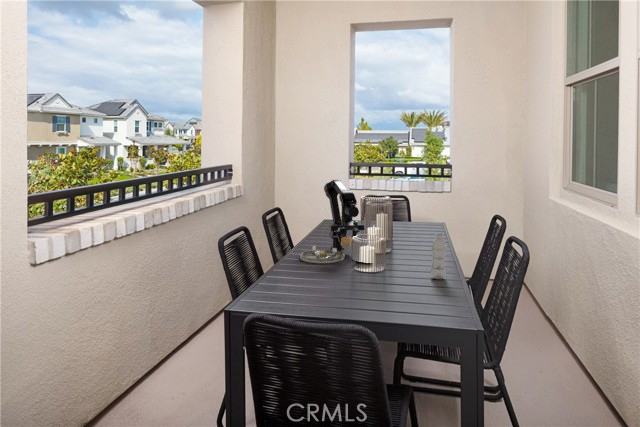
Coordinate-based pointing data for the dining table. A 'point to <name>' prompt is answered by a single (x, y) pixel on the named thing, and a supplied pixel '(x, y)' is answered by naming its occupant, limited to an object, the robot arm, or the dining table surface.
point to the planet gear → (346, 241)
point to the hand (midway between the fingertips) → (346, 242)
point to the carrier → (322, 256)
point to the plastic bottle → (438, 257)
